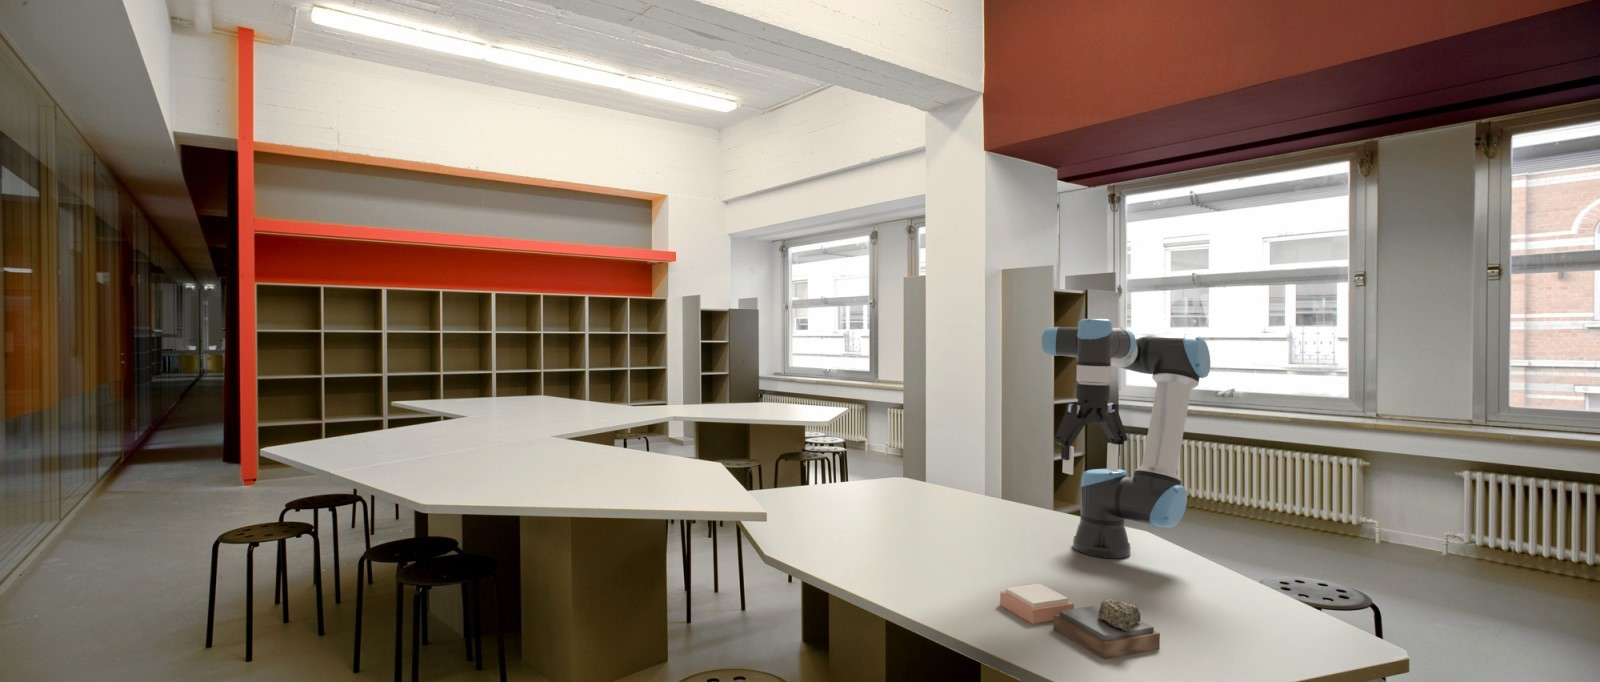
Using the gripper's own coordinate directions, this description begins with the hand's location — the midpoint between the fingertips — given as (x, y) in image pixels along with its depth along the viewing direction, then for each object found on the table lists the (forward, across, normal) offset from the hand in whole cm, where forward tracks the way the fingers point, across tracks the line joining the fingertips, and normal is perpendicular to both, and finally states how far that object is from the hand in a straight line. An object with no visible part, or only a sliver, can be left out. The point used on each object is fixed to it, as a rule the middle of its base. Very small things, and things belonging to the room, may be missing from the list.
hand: (1090, 472), depth 170 cm
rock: (+25, +15, +25) cm, 38 cm away
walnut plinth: (+29, +16, +22) cm, 40 cm away
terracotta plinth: (+29, +20, +6) cm, 35 cm away
